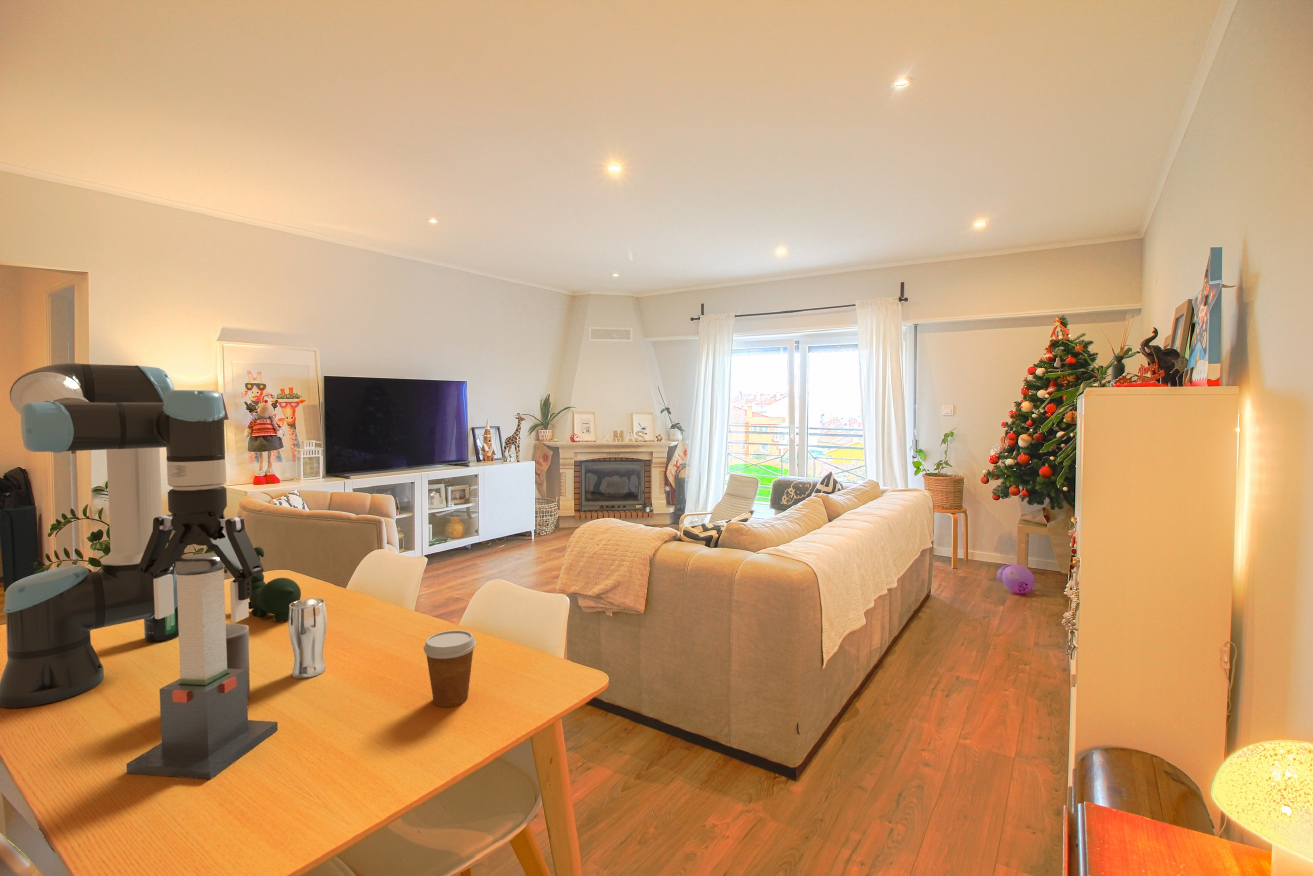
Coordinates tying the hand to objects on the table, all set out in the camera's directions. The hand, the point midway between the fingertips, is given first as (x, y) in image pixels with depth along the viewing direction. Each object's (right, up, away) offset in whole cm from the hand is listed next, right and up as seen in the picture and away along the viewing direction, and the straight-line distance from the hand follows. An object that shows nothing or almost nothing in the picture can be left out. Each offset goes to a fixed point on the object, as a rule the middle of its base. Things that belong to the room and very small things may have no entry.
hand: (202, 618), depth 98 cm
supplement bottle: (-46, -20, +49) cm, 70 cm away
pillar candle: (-9, -21, +17) cm, 29 cm away
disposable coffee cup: (+34, -21, +19) cm, 44 cm away
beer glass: (0, -21, +30) cm, 37 cm away
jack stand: (0, -22, +1) cm, 22 cm away
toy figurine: (-30, -19, +64) cm, 73 cm away
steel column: (0, -14, +1) cm, 14 cm away
